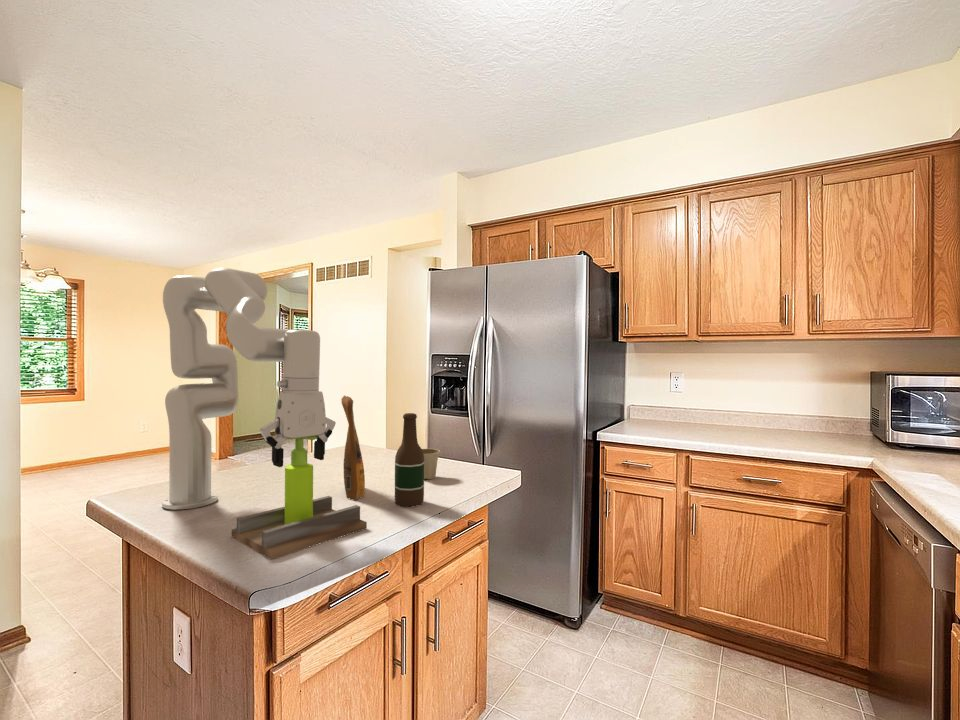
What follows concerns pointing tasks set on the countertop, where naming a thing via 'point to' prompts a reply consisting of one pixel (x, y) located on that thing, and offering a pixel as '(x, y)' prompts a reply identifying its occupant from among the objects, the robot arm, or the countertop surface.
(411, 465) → the beer bottle
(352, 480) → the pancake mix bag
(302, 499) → the soap dispenser
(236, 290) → the robot arm
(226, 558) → the countertop surface
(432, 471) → the flower pot
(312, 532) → the track board
